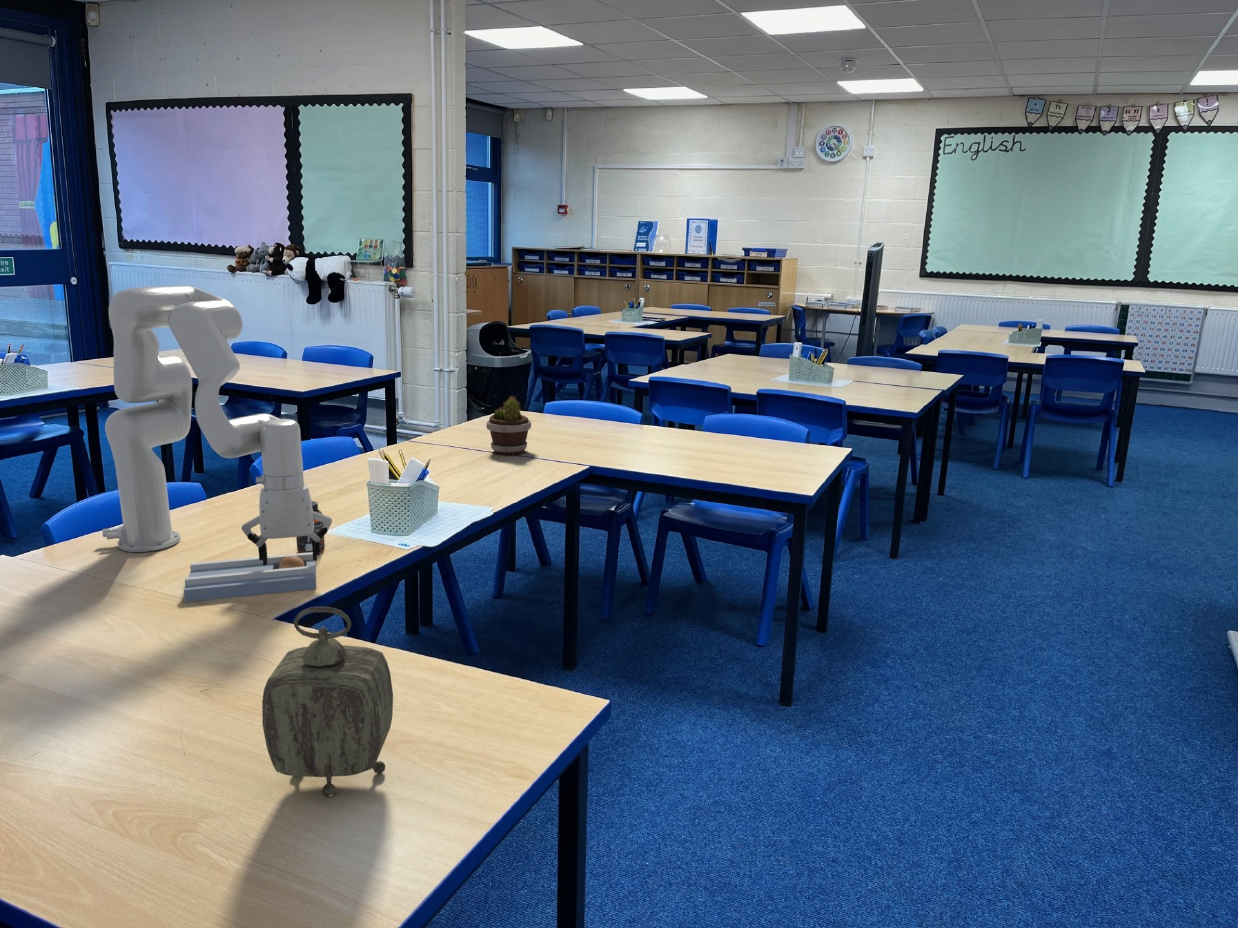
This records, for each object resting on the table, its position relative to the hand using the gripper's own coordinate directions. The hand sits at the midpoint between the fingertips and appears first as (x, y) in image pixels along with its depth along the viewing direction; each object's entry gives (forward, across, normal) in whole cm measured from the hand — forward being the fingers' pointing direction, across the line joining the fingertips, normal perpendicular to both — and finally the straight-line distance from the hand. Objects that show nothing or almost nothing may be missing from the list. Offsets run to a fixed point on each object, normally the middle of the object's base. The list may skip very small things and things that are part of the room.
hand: (290, 560), depth 180 cm
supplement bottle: (+4, +4, +16) cm, 17 cm away
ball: (+2, 0, 0) cm, 2 cm away
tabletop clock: (+4, +7, -76) cm, 76 cm away
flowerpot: (+4, +66, +97) cm, 117 cm away
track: (+4, -7, 0) cm, 8 cm away
